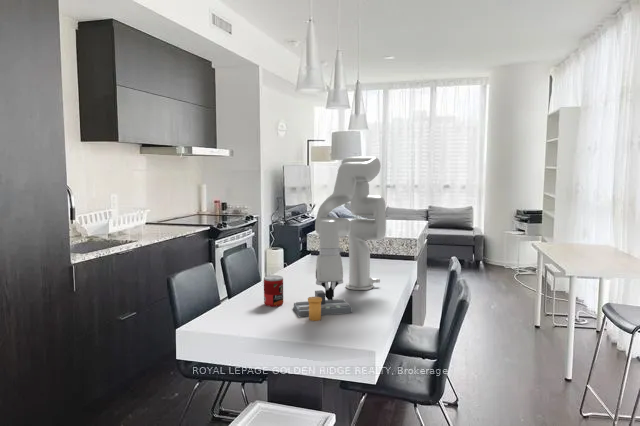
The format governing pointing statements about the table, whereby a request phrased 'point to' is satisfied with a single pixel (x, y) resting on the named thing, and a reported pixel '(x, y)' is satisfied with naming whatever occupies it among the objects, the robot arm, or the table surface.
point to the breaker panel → (324, 307)
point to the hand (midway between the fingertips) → (329, 299)
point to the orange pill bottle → (314, 308)
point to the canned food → (273, 290)
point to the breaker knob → (320, 295)
